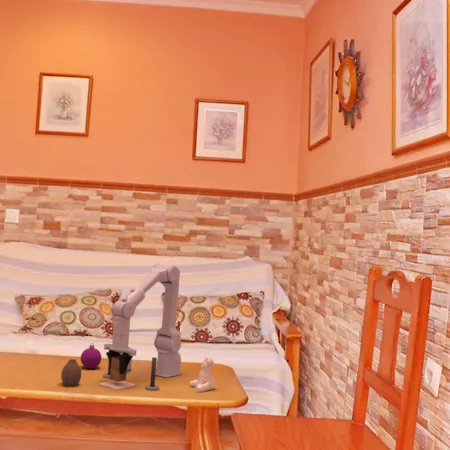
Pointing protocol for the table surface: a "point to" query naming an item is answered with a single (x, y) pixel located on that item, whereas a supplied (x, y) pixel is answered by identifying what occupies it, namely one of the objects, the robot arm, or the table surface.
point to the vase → (71, 373)
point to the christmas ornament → (91, 357)
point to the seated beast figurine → (204, 377)
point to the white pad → (117, 385)
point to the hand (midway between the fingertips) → (118, 372)
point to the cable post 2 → (152, 377)
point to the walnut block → (116, 370)
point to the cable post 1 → (107, 375)
